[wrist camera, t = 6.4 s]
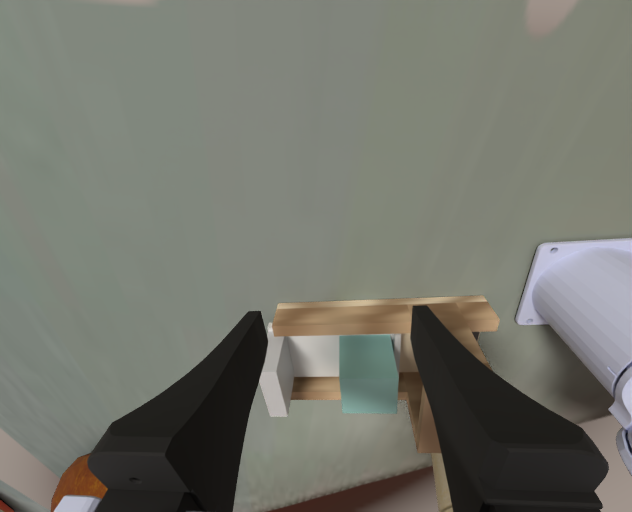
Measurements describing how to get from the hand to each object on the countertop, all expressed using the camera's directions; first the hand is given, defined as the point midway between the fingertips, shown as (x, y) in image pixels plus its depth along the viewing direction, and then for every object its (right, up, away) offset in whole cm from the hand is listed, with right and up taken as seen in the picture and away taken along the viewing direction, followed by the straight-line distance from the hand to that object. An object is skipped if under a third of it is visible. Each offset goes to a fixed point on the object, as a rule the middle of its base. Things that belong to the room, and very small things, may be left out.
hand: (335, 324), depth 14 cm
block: (+4, -6, +13) cm, 15 cm away
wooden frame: (+5, -5, +15) cm, 16 cm away
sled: (+1, -6, +14) cm, 15 cm away
